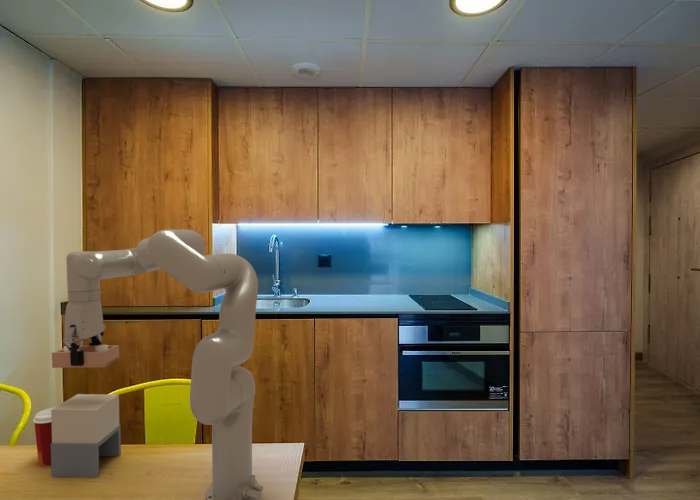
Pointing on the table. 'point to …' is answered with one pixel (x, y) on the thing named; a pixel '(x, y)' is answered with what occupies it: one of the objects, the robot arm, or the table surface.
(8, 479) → the table surface
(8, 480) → the table surface
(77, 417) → the counter unit
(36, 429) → the paper cup
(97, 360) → the tray
